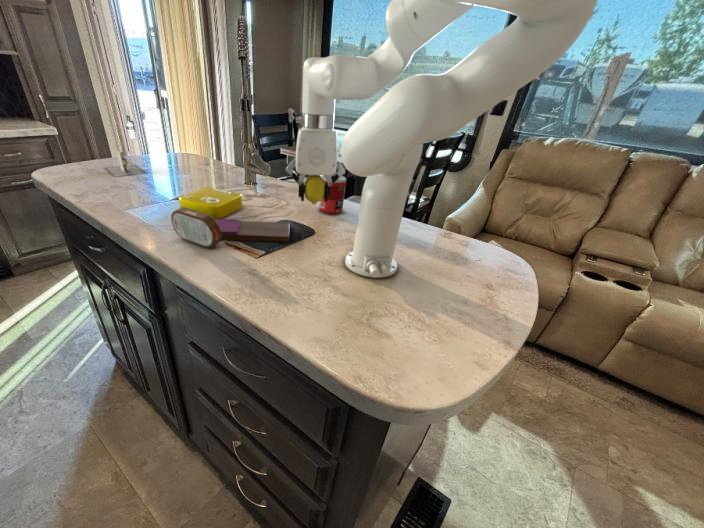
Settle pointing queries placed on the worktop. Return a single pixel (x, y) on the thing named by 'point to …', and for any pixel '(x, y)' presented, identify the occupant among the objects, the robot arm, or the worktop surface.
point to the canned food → (334, 197)
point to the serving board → (260, 232)
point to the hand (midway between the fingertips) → (314, 199)
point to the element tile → (212, 202)
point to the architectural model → (124, 167)
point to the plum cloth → (228, 225)
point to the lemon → (314, 188)
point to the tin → (196, 227)
